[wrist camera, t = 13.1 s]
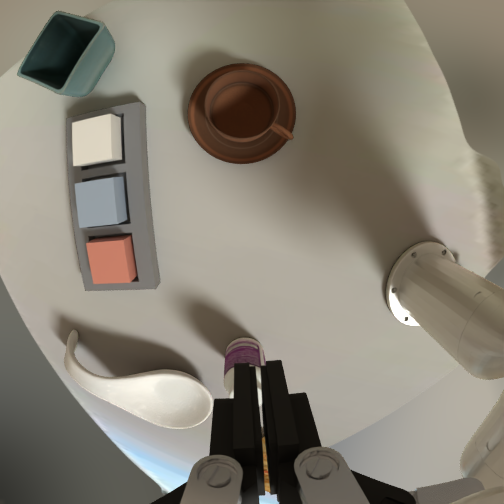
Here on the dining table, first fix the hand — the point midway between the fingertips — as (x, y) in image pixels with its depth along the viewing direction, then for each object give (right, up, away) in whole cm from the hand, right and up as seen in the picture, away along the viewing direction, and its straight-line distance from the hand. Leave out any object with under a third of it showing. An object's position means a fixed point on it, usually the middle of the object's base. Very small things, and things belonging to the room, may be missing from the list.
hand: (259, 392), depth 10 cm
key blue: (-17, +11, +22) cm, 30 cm away
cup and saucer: (-1, +21, +23) cm, 31 cm away
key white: (-18, +18, +20) cm, 32 cm away
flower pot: (-21, +29, +20) cm, 41 cm away
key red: (-17, +5, +25) cm, 31 cm away
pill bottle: (-1, -9, +30) cm, 32 cm away
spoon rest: (-17, -13, +31) cm, 38 cm away
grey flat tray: (-17, +12, +24) cm, 32 cm away
